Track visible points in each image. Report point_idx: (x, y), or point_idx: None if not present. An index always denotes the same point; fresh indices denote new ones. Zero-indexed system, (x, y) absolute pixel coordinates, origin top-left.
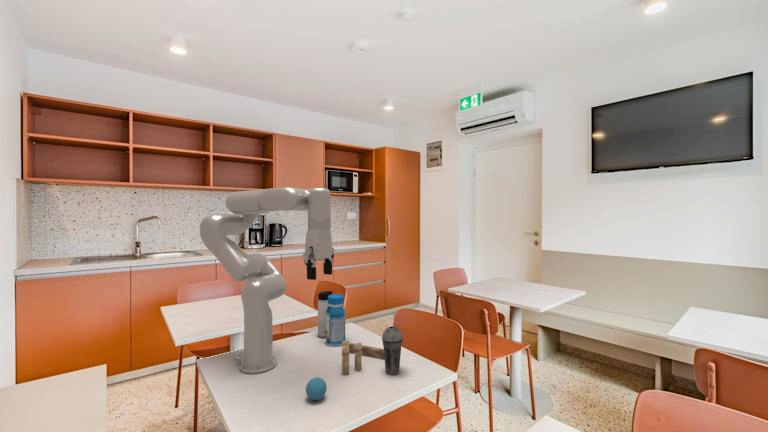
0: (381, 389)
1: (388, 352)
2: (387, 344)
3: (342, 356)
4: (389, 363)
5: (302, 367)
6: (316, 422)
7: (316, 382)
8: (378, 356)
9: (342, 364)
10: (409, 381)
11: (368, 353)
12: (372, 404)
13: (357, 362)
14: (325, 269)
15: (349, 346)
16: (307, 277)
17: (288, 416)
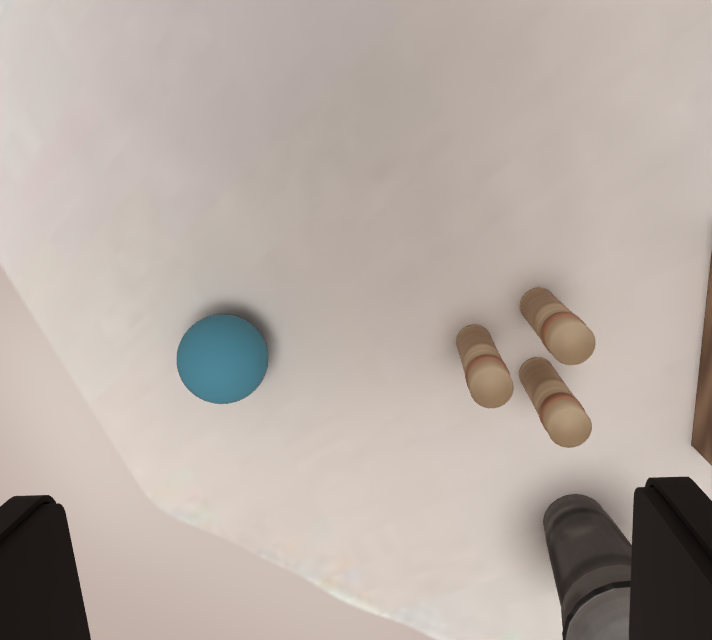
0: (415, 535)
1: (559, 590)
2: (564, 619)
3: (468, 360)
4: (550, 556)
5: (439, 95)
6: (122, 431)
7: (194, 386)
8: (700, 413)
9: (464, 347)
10: (522, 606)
11: (709, 357)
12: (306, 545)
13: (528, 394)
14: (675, 601)
15: None
16: (3, 519)
17: (94, 324)
